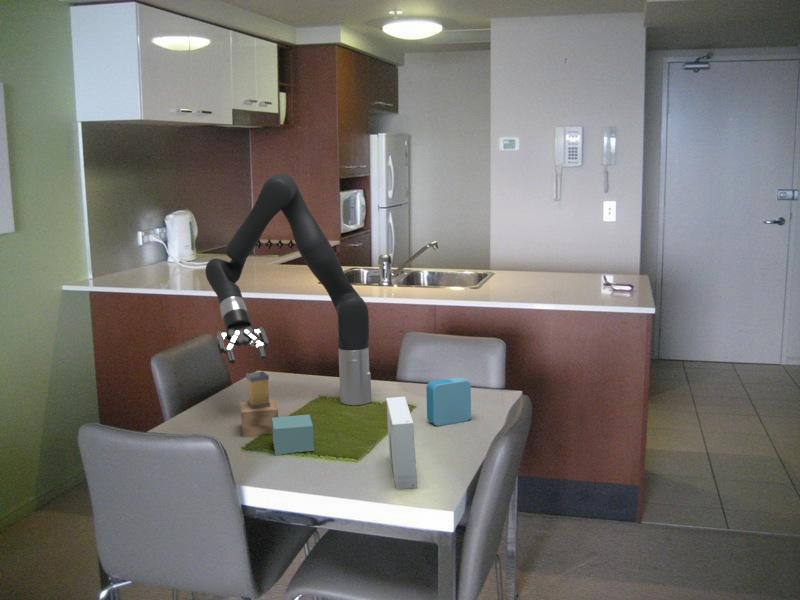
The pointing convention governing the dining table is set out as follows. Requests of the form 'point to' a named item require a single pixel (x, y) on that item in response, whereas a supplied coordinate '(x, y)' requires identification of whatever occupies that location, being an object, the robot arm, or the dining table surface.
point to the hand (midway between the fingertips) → (248, 361)
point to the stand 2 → (292, 434)
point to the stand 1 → (257, 419)
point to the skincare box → (401, 443)
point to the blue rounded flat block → (448, 401)
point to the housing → (258, 390)
